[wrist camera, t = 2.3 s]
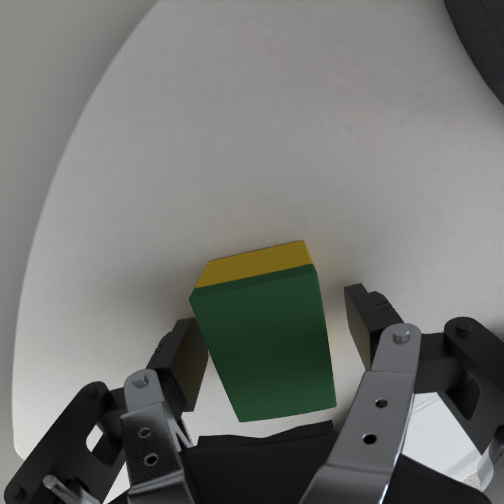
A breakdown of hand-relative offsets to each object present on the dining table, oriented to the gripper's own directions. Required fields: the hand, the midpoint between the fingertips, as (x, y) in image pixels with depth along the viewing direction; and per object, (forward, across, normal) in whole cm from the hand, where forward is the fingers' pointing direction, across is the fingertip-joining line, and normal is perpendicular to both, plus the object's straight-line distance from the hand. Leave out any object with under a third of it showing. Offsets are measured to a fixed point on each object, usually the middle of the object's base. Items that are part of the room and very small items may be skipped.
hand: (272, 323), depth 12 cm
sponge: (+1, 0, 0) cm, 1 cm away
